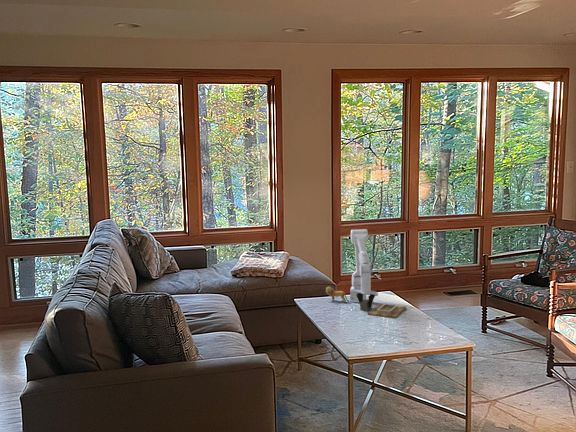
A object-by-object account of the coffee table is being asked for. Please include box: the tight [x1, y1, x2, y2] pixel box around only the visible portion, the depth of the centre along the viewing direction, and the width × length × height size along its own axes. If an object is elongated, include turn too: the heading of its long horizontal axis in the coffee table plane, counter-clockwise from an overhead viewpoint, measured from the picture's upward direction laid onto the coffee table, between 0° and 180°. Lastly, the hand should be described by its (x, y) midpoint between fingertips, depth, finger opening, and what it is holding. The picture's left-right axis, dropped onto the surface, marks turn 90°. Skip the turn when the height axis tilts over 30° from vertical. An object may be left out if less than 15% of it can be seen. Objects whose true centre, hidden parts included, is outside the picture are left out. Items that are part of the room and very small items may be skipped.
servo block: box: [359, 298, 372, 312], centre depth 331 cm, size 4×9×6 cm, turn 151°
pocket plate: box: [367, 303, 407, 319], centre depth 325 cm, size 16×20×2 cm
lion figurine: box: [325, 286, 350, 304], centre depth 349 cm, size 15×5×9 cm, turn 71°
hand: (365, 306), depth 331 cm, fingers open, 5 cm apart
